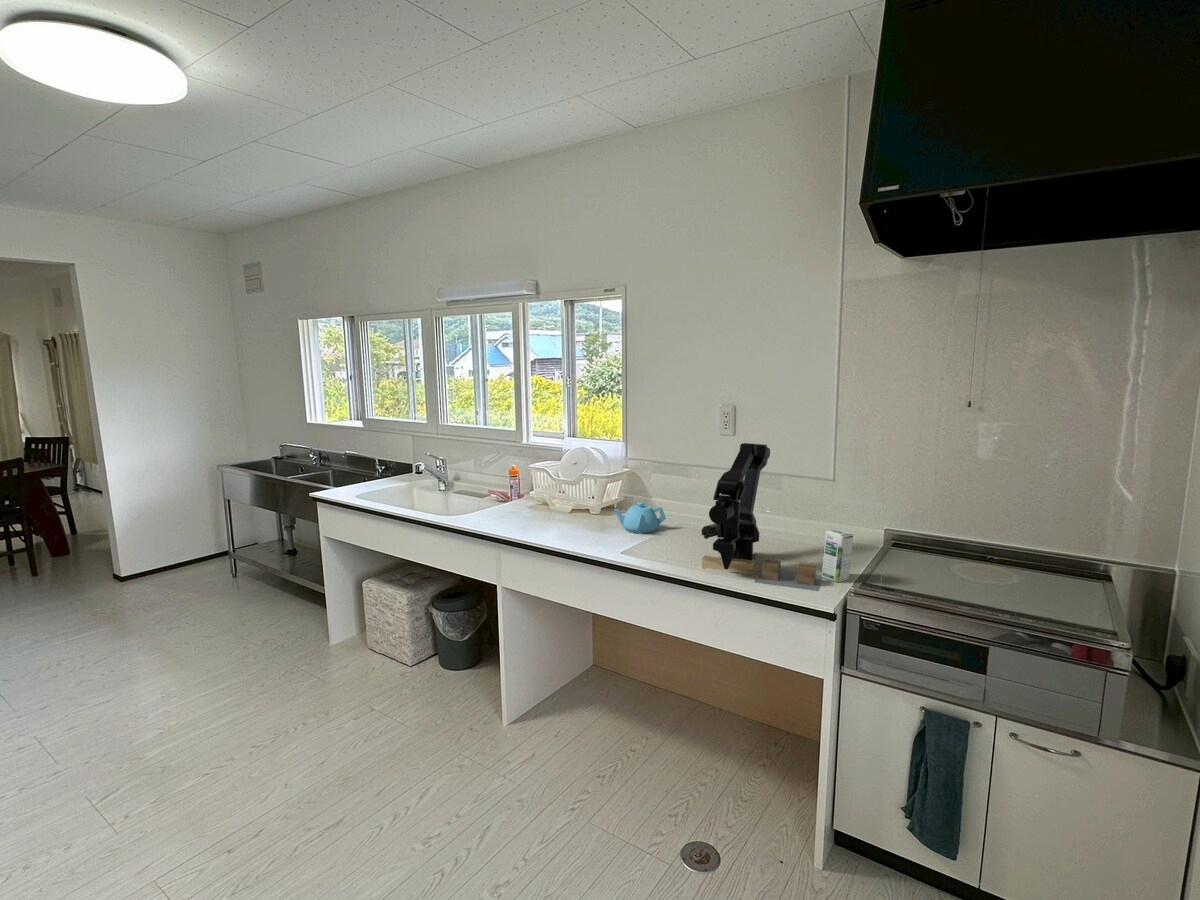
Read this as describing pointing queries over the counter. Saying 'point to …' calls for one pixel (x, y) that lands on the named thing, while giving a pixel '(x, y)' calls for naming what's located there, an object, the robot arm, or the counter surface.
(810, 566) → the block
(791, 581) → the mat
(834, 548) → the syrup box
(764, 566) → the block
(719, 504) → the robot arm
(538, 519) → the counter surface
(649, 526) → the teapot
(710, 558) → the plank
